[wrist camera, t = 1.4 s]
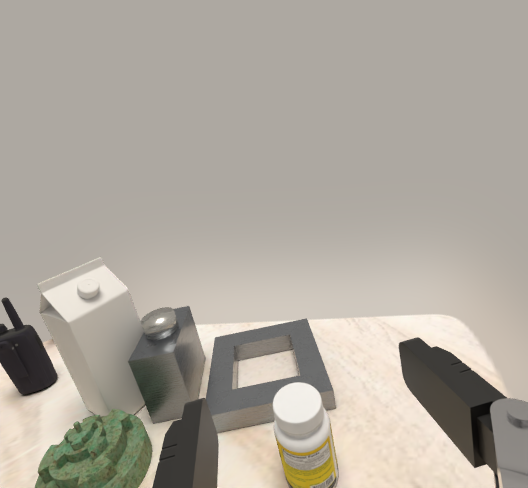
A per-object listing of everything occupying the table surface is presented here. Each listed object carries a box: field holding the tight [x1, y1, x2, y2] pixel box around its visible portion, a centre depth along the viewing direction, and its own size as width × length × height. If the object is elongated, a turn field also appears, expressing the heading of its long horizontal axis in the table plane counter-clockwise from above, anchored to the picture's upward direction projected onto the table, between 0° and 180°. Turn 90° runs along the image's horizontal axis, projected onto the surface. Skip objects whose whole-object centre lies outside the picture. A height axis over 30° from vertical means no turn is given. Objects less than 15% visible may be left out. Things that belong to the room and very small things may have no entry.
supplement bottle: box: [273, 382, 338, 488], centre depth 26 cm, size 5×5×8 cm
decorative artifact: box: [35, 409, 152, 488], centre depth 30 cm, size 10×7×10 cm
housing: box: [128, 306, 336, 433], centre depth 38 cm, size 21×14×11 cm, turn 94°
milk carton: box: [37, 257, 145, 417], centre depth 37 cm, size 7×7×19 cm
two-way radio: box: [0, 298, 57, 395], centre depth 43 cm, size 6×4×15 cm
